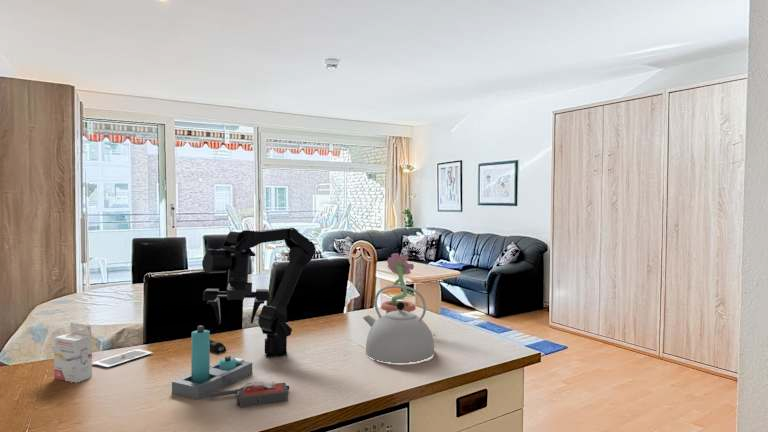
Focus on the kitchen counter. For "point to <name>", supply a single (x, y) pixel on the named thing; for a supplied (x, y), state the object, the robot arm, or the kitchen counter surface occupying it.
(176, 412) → the kitchen counter surface
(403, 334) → the kettle
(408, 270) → the decorative flower
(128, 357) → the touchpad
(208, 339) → the plug
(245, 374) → the grey holder base
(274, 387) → the walkie-talkie
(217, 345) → the electric trimmer
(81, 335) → the ink cartridge box
